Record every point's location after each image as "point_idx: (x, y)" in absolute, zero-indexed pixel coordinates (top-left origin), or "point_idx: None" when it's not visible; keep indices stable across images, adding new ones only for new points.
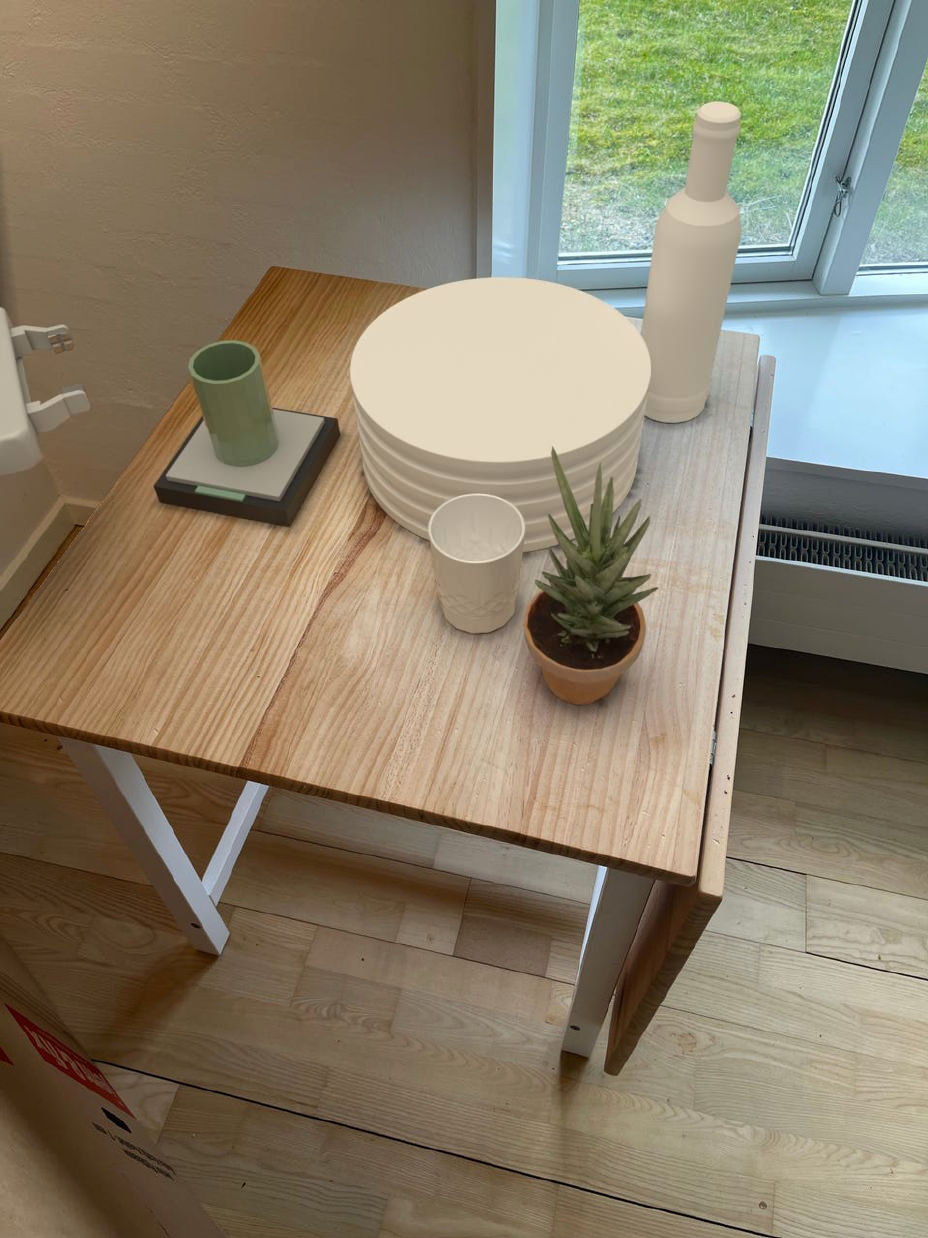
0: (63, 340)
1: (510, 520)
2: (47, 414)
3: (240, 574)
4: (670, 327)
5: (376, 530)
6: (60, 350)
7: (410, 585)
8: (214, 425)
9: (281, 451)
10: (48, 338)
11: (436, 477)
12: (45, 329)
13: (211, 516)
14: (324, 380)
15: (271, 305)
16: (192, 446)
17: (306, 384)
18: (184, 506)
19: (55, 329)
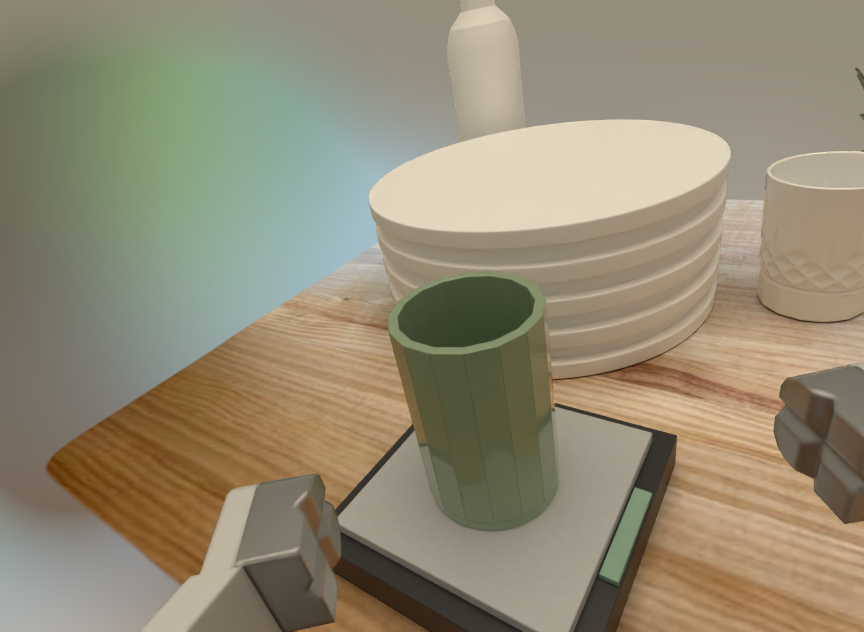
0: (320, 521)
1: (786, 179)
2: None
3: (825, 546)
4: (516, 123)
5: (677, 372)
6: (333, 583)
7: (789, 345)
8: (538, 432)
9: None
10: (259, 594)
11: (715, 213)
12: (212, 572)
13: (642, 595)
14: (329, 415)
15: (97, 472)
16: (467, 575)
17: (324, 434)
18: None
19: (250, 521)
